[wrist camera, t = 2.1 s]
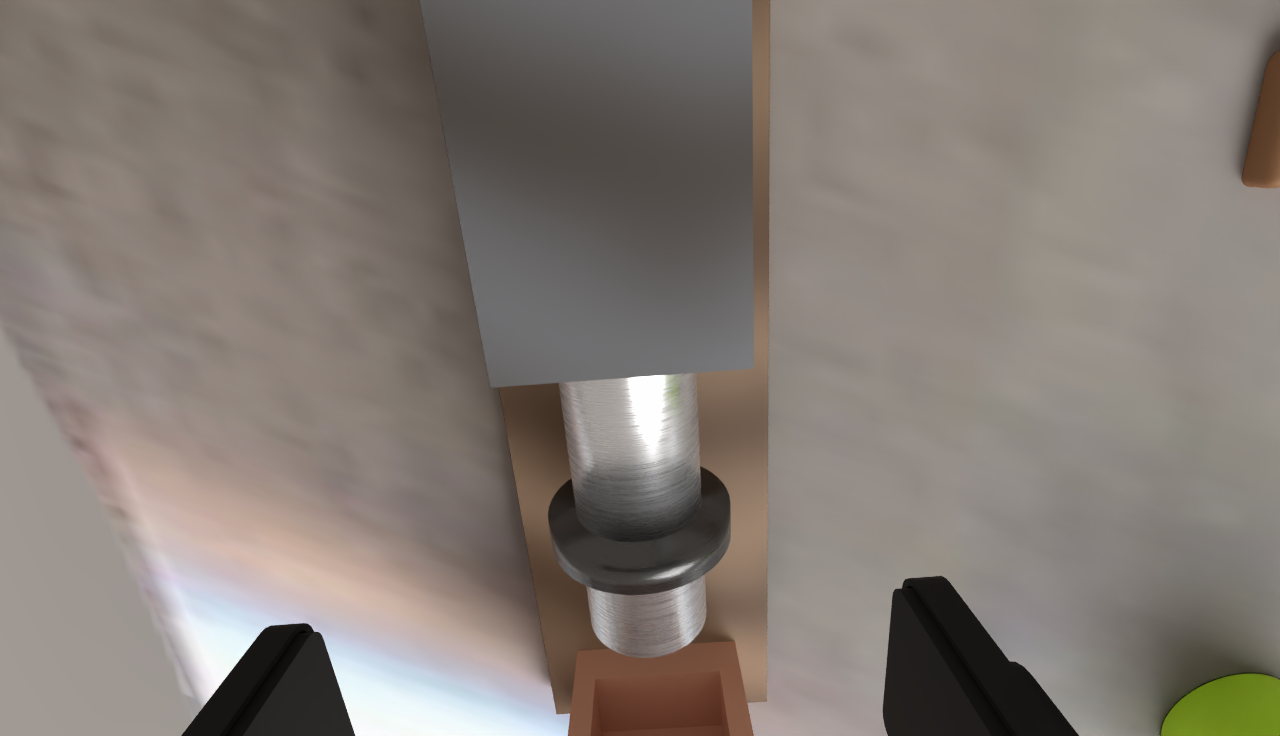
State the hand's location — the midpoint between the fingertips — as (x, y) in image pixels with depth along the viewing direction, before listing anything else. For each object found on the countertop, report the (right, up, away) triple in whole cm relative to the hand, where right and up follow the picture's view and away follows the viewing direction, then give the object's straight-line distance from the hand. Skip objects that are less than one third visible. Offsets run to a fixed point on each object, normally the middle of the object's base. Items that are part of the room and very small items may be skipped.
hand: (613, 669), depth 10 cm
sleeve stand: (0, +4, +12) cm, 12 cm away
